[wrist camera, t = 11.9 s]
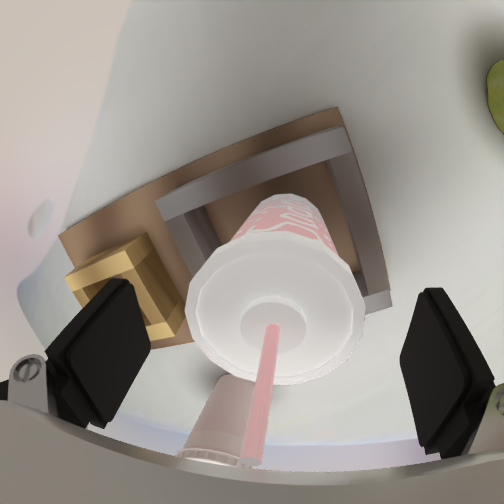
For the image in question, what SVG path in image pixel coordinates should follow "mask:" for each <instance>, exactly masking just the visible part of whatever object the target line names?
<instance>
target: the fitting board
mask: <svg viewBox="0 0 504 504" xmlns="http://www.w3.org/2000/svg"><path fill="white" fill-rule="evenodd" d="M277 194H294V195H297V196H300V197H303V198H306V199H307V200H308V201H309V202H311V203H312V204H313V205H314V206H315V207H316V208H318V210H319V212H320V214H321V216H322V218H323V220H324V223H325V225H326V227H327V229H328V232H329V234H330V236H331V239H332V241H333V244H334V246H335V248H336V251H337V253H338V256H339V257H340V258H341V259H342V260H343V261H345V262H346V263H347V264H348V265H349V267H350V269H351V272H352V274H353V276H354V279H355V281H356V283H357V285H358V288H359V290H360V293H361V295H362V297H363V300H364V303H365V315H366V314H370V313H373V312H376V311H379V310H382V309H386V308H389V307H392V301H391V295H390V291H391V290H390V285H389V280H388V275H387V270H386V265H385V261H384V256H383V252H382V247H381V243H380V239H379V235H378V231H377V227H376V223H375V219H374V215H373V212H372V208H371V204H370V201H369V197H368V194H367V191H366V187H365V184H364V181H363V177H362V174H361V171H360V168H359V165H358V162H357V159H356V156H355V153H354V150H353V147H352V144H351V141H350V138H349V136H348V133H347V130H346V127H345V125H344V122H343V119H342V117H341V114H340V112H339V109H338V107H335V108H332V109H328V110H325V111H322V112H319V113H316V114H313V115H310V116H307V117H304V118H301V119H298V120H296V121H293V122H290V123H287V124H284V125H282V126H279V127H276V128H274V129H271V130H268V131H266V132H263V133H260V134H258V135H255V136H253V137H250V138H248V139H245V140H243V141H240V142H238V143H236V144H233V145H231V146H228V147H226V148H224V149H221V150H219V151H217V152H214V153H212V154H210V155H208V156H205V157H203V158H201V159H199V160H197V161H194V162H192V163H190V164H188V165H186V166H184V167H181V168H179V169H177V170H175V171H173V172H171V173H169V174H167V175H165V176H163V177H161V178H159V179H157V180H155V181H153V182H151V183H149V184H147V185H145V186H143V187H141V188H139V189H137V190H135V191H134V192H132V193H130V194H128V195H126V196H124V197H122V198H121V199H119V200H117V201H115V202H113V203H112V204H110V205H108V206H106V207H104V208H103V209H101V210H99V211H97V212H96V213H94V214H92V215H91V216H89V217H87V218H86V219H84V220H82V221H81V222H79V223H77V224H76V225H74V226H72V227H71V228H69V229H67V230H66V231H64V232H63V233H61V234H60V235H58V236H59V238H60V240H61V242H62V244H63V246H64V248H65V250H66V252H67V254H68V256H69V258H70V260H71V261H72V263H73V265H74V267H75V269H74V270H73V271H71V272H70V273H69V274H68V275H66V276H65V277H64V278H65V280H66V281H67V283H68V285H69V287H70V288H71V290H72V292H73V293H74V295H75V297H76V298H77V300H78V301H79V303H80V305H81V306H82V308H83V307H84V306H85V305H86V304H87V303H88V302H89V301H90V300H91V299H92V298H93V297H94V296H95V295H96V294H97V293H98V292H99V290H100V289H101V288H102V287H103V286H104V285H105V284H106V283H107V282H108V281H109V280H110V279H112V278H121V279H128V280H129V282H130V283H131V284H133V286H134V288H135V292H136V295H137V299H138V303H139V306H140V310H141V313H142V316H143V320H144V323H145V326H146V330H147V333H148V336H149V339H150V342H151V349H157V348H163V347H169V346H174V345H180V344H185V343H190V342H195V341H194V340H193V338H192V335H191V332H190V329H189V325H188V322H187V318H186V315H185V306H186V300H187V295H188V289H189V284H190V282H191V280H192V279H193V277H194V276H195V275H196V274H197V272H198V271H199V270H200V269H201V267H202V266H203V265H204V264H205V262H206V261H207V260H208V259H209V257H210V256H211V255H212V254H213V252H214V251H215V250H216V249H217V248H218V247H220V246H223V245H225V244H227V243H229V242H230V241H231V239H232V238H233V237H234V235H235V234H236V233H237V231H238V230H239V229H240V228H241V226H242V225H243V224H244V222H245V221H246V220H247V219H248V217H249V216H250V215H251V213H252V212H253V211H254V210H255V209H256V207H257V206H258V205H259V204H260V203H261V201H263V200H265V199H267V198H269V197H271V196H273V195H277Z"/></svg>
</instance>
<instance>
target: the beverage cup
mask: <svg viewBox="0 0 504 504" xmlns="http://www.w3.org/2000/svg"><path fill="white" fill-rule="evenodd" d="M185 315H186V318H187V322H188V325H189V329H190V332H191V335H192V338H193V340H194V341H195V342H196V343H197V345H198V346H199V347H200V348H201V350H202V351H203V352H204V353H205V355H206V356H207V357H208V358H209V359H210V360H211V361H212V362H214V363H215V364H217V365H218V366H220V367H221V368H223V369H225V370H226V371H228V372H229V373H231V374H232V375H234V376H236V377H239V378H243V379H246V380H250V381H253V382H255V388H254V393H253V398H252V403H251V408H250V413H249V417H248V422H247V427H246V432H245V437H244V441H243V446H242V451H241V456H240V462H241V463H242V464H245V465H248V466H258V465H260V464H261V463H262V457H263V451H264V444H265V438H266V432H267V425H268V418H269V411H270V404H271V397H272V390H273V385H295V384H299V383H302V382H306V381H309V380H312V379H316V378H319V377H322V376H325V375H326V374H327V373H329V372H330V371H332V370H333V369H335V368H336V367H337V366H339V365H340V364H342V363H343V362H344V361H346V360H347V359H348V358H349V356H350V355H351V353H352V351H353V350H354V348H355V347H356V345H357V343H358V342H359V340H360V339H361V337H362V335H363V327H364V317H365V303H364V300H363V297H362V295H361V293H360V290H359V288H358V285H357V283H356V281H355V279H354V276H353V274H352V272H351V269H350V267H349V265H348V264H347V263H346V262H345V261H343V260H342V259H341V258H340V257H339V256H338V253H337V251H336V248H335V246H334V244H333V241H332V239H331V236H330V234H329V232H328V229H327V227H326V225H325V223H324V220H323V218H322V216H321V214H320V212H319V210H318V208H316V207H315V206H314V205H313V204H312V203H311V202H309V201H308V200H307V199H306V198H303V197H300V196H297V195H294V194H277V195H273V196H271V197H269V198H267V199H265V200H263V201H261V203H260V204H259V205H258V206H257V207H256V209H255V210H254V211H253V212H252V213H251V215H250V216H249V217H248V219H247V220H246V221H245V222H244V224H243V225H242V226H241V228H240V229H239V230H238V231H237V233H236V234H235V235H234V237H233V238H232V239H231V241H230V242H229V243H227V244H225V245H223V246H220V247H218V248H217V249H216V250H215V251H214V252H213V254H212V255H211V256H210V257H209V259H208V260H207V261H206V262H205V264H204V265H203V266H202V267H201V269H200V270H199V271H198V272H197V274H196V275H195V276H194V277H193V279H192V280H191V282H190V284H189V289H188V295H187V300H186V306H185Z"/></svg>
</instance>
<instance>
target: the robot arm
mask: <svg viewBox="0 0 504 504" xmlns="http://www.w3.org/2000/svg"><path fill="white" fill-rule="evenodd" d="M150 350H151V342H150V339H149V336H148V333H147V330H146V326H145V323H144V320H143V316H142V313H141V310H140V306H139V303H138V299H137V295H136V292H135V288H134V286H133V284H131V283H130V282H129V280H128V279H121V278H112V279H110V280H109V281H108V282H107V283H106V284H105V285H104V286H103V287H102V288H101V289H100V290H99V292H98V293H97V294H96V295H95V296H94V297H93V298H92V299H91V300H90V301H89V302H88V303H87V304H86V305H85V306H84V307H83V309H82V310H81V311H80V312H79V313H78V314H77V315H76V316H75V317H74V318H73V319H72V321H71V322H70V323H69V324H68V325H67V326H66V327H65V328H64V329H63V331H62V332H61V333H60V334H59V335H58V336H57V337H56V339H55V340H54V341H53V342H52V343H51V344H50V346H49V347H48V348H47V349H46V350H45V353H46V354H47V356H48V360H47V361H45V360H44V358H43V357H42V356H40V355H35V354H32V355H27V356H25V357H22V358H21V359H19V360H18V361H17V362H16V363H15V364H14V365H13V367H12V369H11V371H10V375H9V380H6V381H3V382H0V504H504V383H503V384H500V385H498V386H495V384H494V382H493V381H494V379H495V378H494V376H493V374H492V372H491V370H490V368H489V366H488V364H487V362H486V360H485V358H484V356H483V355H482V353H481V351H480V349H479V347H478V345H477V343H476V342H475V340H474V338H473V336H472V335H471V333H470V331H469V329H468V328H467V326H466V324H465V323H464V321H463V319H462V318H461V316H460V314H459V313H458V311H457V309H456V308H455V306H454V305H453V303H452V301H451V300H450V298H449V297H448V295H447V294H446V292H445V291H444V289H443V288H425V289H424V291H423V292H421V293H419V295H418V299H417V302H416V306H415V310H414V313H413V316H412V320H411V323H410V327H409V330H408V333H407V336H406V339H405V342H404V345H403V348H402V351H401V354H400V367H401V370H402V374H403V377H404V381H405V385H406V389H407V393H408V396H409V400H410V405H411V409H412V413H413V417H414V422H415V426H416V431H417V436H418V440H419V444H420V446H421V447H424V448H425V454H426V455H428V454H433V453H437V452H439V453H440V457H441V460H437V461H432V462H426V463H420V464H414V465H407V466H400V467H391V468H383V469H373V470H361V471H344V472H291V471H272V470H259V469H249V468H241V467H233V466H225V465H219V464H212V463H207V462H201V461H196V460H191V459H186V458H181V457H176V456H172V455H167V454H164V453H160V452H156V451H151V450H148V449H145V448H141V447H137V446H134V445H131V444H127V443H124V442H121V441H118V440H115V439H112V438H109V437H106V436H103V435H100V434H98V433H95V432H92V431H90V430H88V428H87V425H88V424H89V422H90V423H91V424H92V425H94V426H97V427H100V428H102V429H104V428H105V427H106V424H107V423H108V422H111V421H112V420H113V418H114V416H115V414H116V412H117V411H118V409H119V407H120V405H121V403H122V401H123V399H124V398H125V396H126V394H127V392H128V390H129V388H130V387H131V385H132V383H133V381H134V379H135V378H136V376H137V374H138V372H139V370H140V369H141V367H142V365H143V363H144V362H145V360H146V358H147V356H148V354H149V353H150Z"/></svg>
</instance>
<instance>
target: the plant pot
mask: <svg viewBox="0 0 504 504" xmlns="http://www.w3.org/2000/svg"><path fill="white" fill-rule="evenodd" d="M487 86H488V106H489V109H490V112H491V114H492V117H493V119H494V121H495V123H496V125H497V126H498V128H499V129H500V130H501V132H502V133H503V134H504V59H503V60H500V61H498V62H496V63H495V64H494V65H493V66H492V68H491V69H490V71H489V73H488V77H487Z"/></svg>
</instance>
